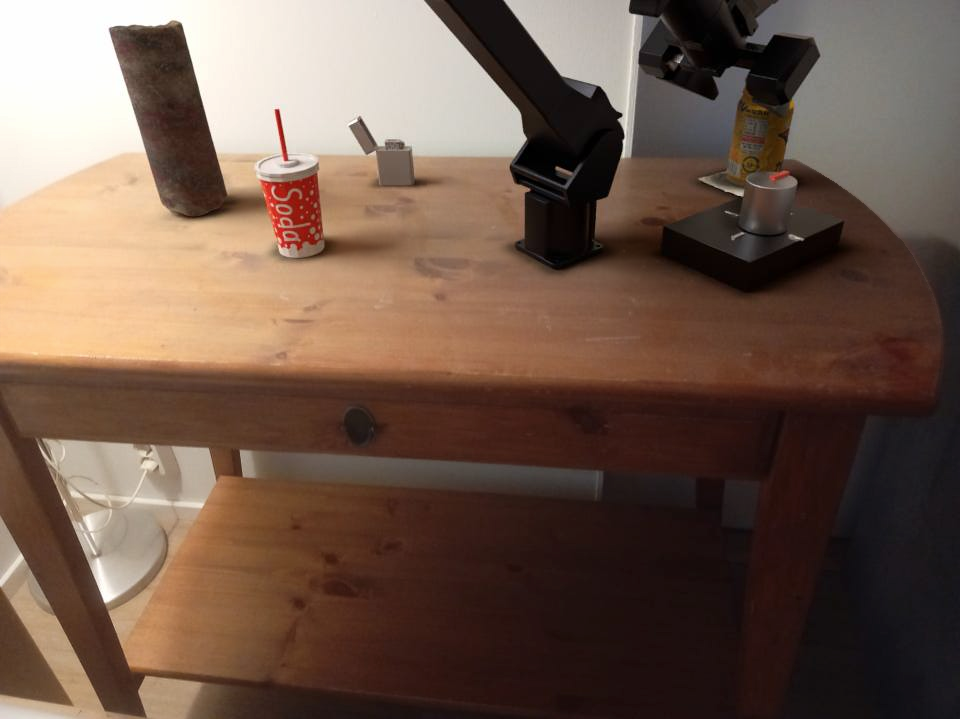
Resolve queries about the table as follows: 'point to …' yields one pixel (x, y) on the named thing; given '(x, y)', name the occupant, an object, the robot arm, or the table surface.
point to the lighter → (386, 155)
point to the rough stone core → (170, 116)
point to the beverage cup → (292, 199)
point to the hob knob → (767, 202)
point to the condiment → (753, 145)
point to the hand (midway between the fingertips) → (749, 105)
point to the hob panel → (748, 244)
